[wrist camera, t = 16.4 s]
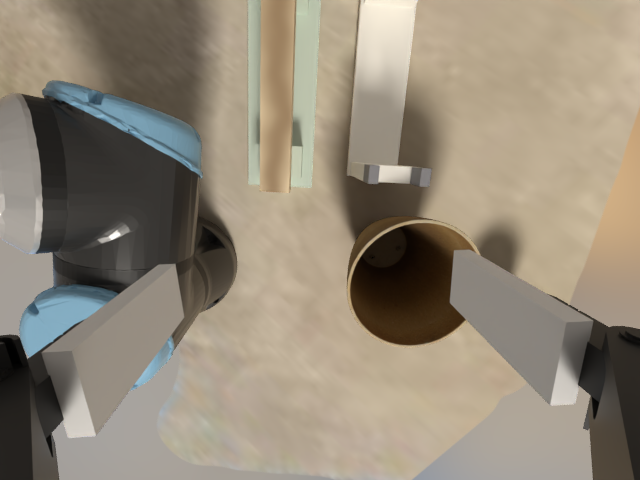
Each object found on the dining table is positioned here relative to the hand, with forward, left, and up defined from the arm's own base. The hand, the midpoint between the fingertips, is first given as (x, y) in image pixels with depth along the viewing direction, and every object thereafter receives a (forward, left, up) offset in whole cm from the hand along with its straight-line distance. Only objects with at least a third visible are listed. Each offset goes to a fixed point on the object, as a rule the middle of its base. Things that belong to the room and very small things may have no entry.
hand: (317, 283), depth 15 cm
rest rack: (-5, +15, -33) cm, 36 cm away
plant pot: (+11, -7, -33) cm, 35 cm away
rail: (-5, +15, -28) cm, 32 cm away
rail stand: (+8, +15, -33) cm, 37 cm away
